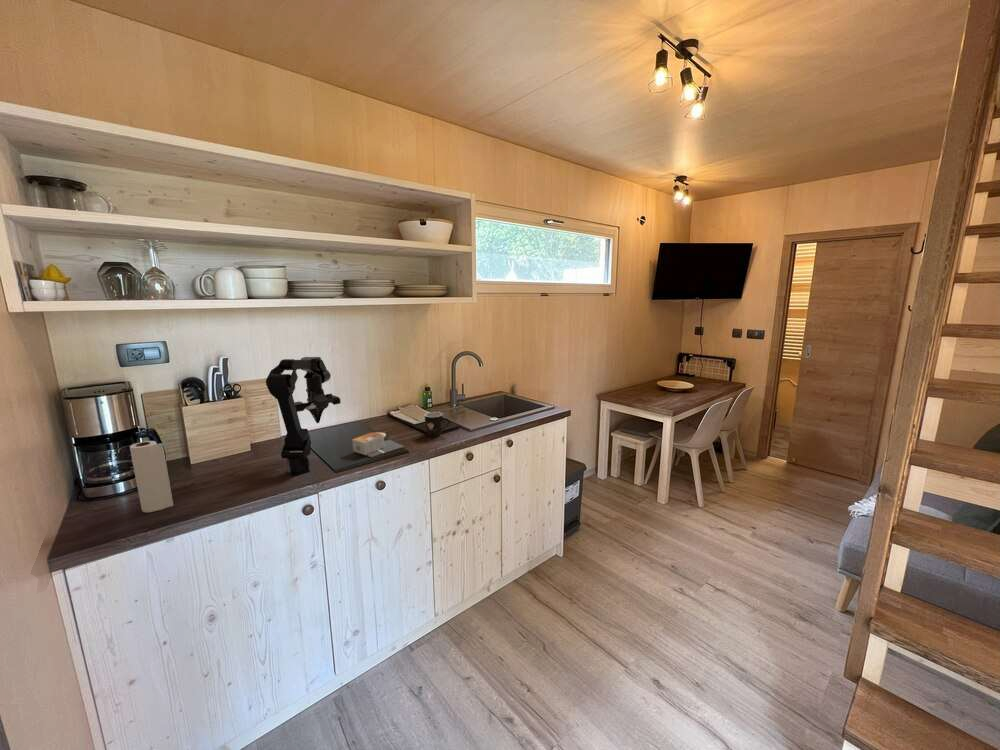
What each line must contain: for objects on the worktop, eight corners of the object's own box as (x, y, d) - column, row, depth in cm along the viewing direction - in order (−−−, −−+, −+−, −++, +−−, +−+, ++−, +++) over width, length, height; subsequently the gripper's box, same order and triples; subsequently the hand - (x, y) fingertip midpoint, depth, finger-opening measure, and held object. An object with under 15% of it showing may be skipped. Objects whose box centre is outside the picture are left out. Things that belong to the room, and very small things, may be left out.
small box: (351, 439, 168) (371, 431, 177) (352, 451, 169) (372, 443, 178) (364, 442, 164) (384, 434, 172) (365, 455, 165) (385, 447, 174)
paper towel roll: (137, 510, 124) (125, 445, 120) (160, 501, 129) (149, 439, 125) (151, 515, 121) (138, 449, 117) (173, 506, 126) (162, 442, 122)
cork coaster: (371, 441, 183) (371, 440, 183) (362, 436, 189) (362, 435, 189) (389, 436, 189) (389, 435, 189) (379, 431, 195) (379, 430, 195)
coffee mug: (421, 434, 191) (420, 414, 189) (435, 430, 198) (434, 410, 196) (437, 440, 184) (436, 419, 182) (451, 435, 190) (450, 415, 188)
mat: (370, 458, 164) (370, 456, 164) (356, 450, 172) (356, 448, 172) (404, 447, 175) (404, 446, 175) (389, 440, 183) (389, 439, 183)
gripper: (297, 394, 153) (301, 432, 156) (345, 386, 166) (347, 422, 169) (287, 389, 161) (291, 426, 164) (333, 382, 174) (336, 416, 177)
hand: (317, 423), depth 168 cm, fingers closed
